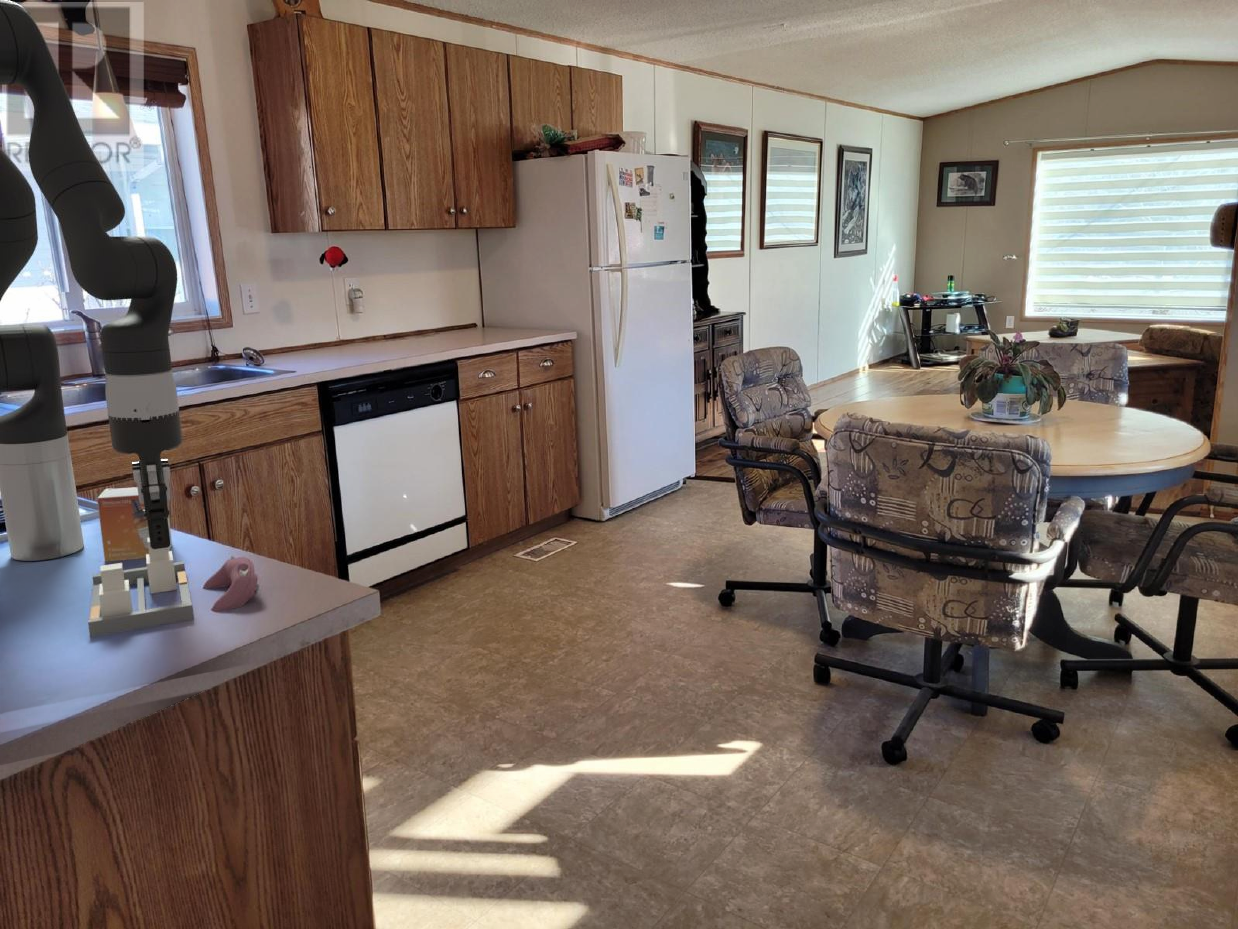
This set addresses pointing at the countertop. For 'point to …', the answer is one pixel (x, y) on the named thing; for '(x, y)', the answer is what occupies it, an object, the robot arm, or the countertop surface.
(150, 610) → the switch bank
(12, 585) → the countertop surface
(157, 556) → the tab
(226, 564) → the video game controller
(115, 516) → the small box
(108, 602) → the tab
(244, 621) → the countertop surface
